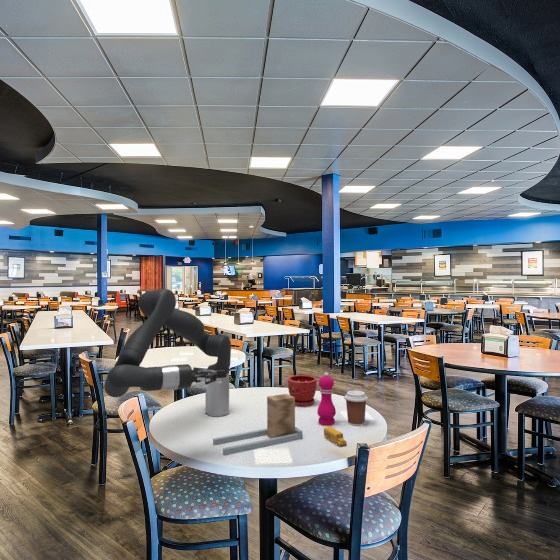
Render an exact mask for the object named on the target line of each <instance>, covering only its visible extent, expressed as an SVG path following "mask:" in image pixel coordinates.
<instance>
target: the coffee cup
mask: <svg viewBox="0 0 560 560" xmlns="http://www.w3.org/2000/svg"><path fill="white" fill-rule="evenodd" d="M343 398H344V400H345V405H346V413H347V414H346V416H347V424H348V423H349V424H348V425H350V424H351V425H350V426H353V425H357V426H356V427H361V426H360V425H362V426H364V425H365V424H364V423H366V421H365V419H366V407H367V406H366V405H367V401H368V400H369V397H368V396H367V395H366V393H365V392H364V391H361V390H355V389H354V390H349V391H347V392H346V395H344V397H343Z"/></svg>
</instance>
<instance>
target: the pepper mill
mask: <svg viewBox="0 0 560 560" xmlns="http://www.w3.org/2000/svg"><path fill="white" fill-rule="evenodd" d="M334 384H335V381H334V379H333V378H332V377H331V376H329V372H326V371H325V372H324V373H323V376H321V377H320V378H319V379H318V386H319V390H320V391H319V393H320V394H321V398H320V399H321V400H320V402H319V405H318V406H317V407H318V408H317V415H318V425H320V424H321V425H320V426H325V427H330V426H333V424H334V423H335V418H334V417H335V416H336V413H337V411H336V407H335V405H334V403H333V399H332V395H333V392H334V391H333V390H334V389H333V387H334V386H335V385H334ZM329 425H330V426H329ZM334 425H335V424H334Z"/></svg>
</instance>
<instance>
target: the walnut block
mask: <svg viewBox="0 0 560 560" xmlns="http://www.w3.org/2000/svg"><path fill="white" fill-rule="evenodd" d="M266 406H267V407H266V410H267V411H266V413H267V414H266V423H267V424H266V425H267V427H266V429H267V435H266V436H267V437H268V438H269V439H271V438H276V437H280V436H285V435H290V434H295V427H296V405H295V397H293V396H290V394H288V393H283V394H276V395H269V396H266Z"/></svg>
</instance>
